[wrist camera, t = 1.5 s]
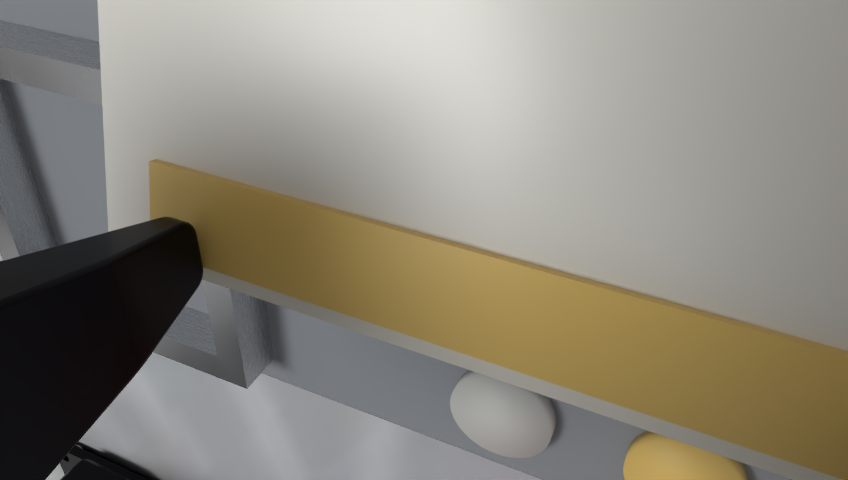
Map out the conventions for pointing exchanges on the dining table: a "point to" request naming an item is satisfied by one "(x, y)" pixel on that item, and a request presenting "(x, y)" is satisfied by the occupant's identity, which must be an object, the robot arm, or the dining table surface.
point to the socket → (32, 231)
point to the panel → (343, 348)
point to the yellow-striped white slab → (521, 191)
